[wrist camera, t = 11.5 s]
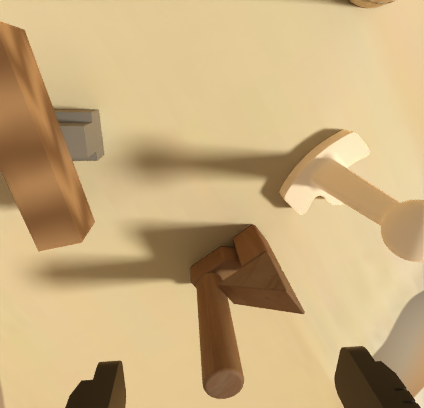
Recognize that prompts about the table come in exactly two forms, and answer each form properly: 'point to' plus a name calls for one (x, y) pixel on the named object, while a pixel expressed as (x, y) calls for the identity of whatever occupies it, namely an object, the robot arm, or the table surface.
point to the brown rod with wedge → (239, 294)
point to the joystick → (355, 193)
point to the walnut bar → (37, 150)
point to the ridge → (81, 133)
